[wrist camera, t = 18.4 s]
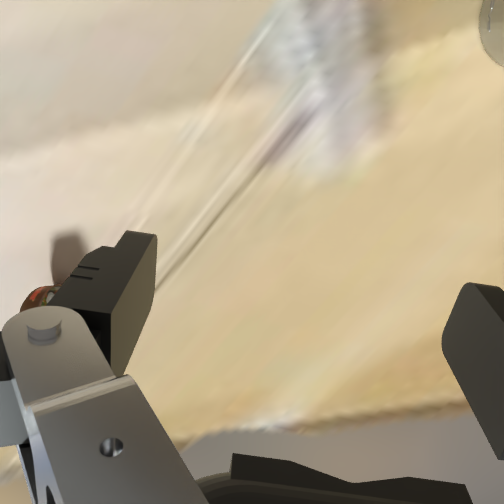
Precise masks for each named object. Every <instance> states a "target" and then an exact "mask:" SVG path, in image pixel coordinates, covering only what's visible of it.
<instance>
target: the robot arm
mask: <svg viewBox="0 0 504 504" xmlns="http://www.w3.org/2000/svg"><path fill="white" fill-rule="evenodd" d="M479 32H480V38H481V42H482V44H483V46H484V49H485V51H486V52H487V54H488V55H489V56H490V58H491V59H492V60H494V61H495V62H496V63H498V64H499V65H501V66H503V67H504V0H484V1H483V4H482V8H481V12H480V18H479ZM156 258H157V236H156V235H155V234H148V233H142V232H135V231H128V230H127V231H126V232H125V233H124V234H123V236H122V237H121V239H120V240H119V242H118V243H117V245H116V246H115V247H107V246H101V247H100V248H98V249H96V250H94V251H92V252H90V253H88V254H86V256H85V257H84V258H83V259H82V261H81V262H80V263H79V264H78V267H77V268H75V270H74V271H73V272H72V273H71V275H70V277H68V278H67V280H66V281H65V282H64V283H63V285H62V286H61V287H60V288H59V290H58V291H57V292H56V293H55V295H54V296H53V297H52V298H51V300H50V301H49V302H48V303H47V305H46V306H41V307H35V308H31V309H28V310H25V311H22V312H20V313H18V314H16V315H15V316H13V317H12V318H11V319H9V320H8V321H7V322H6V324H5V325H4V327H3V329H2V331H0V447H5V446H12V445H16V447H17V450H18V454H19V458H20V461H21V465H22V468H23V472H24V475H25V479H26V483H27V486H28V490H29V493H30V497H31V500H32V504H473V503H472V500H471V498H470V495H469V493H468V491H467V488H466V486H465V484H458V483H450V482H443V481H435V480H428V479H421V478H413V477H403V478H395V479H387V480H379V481H370V482H362V483H351V482H347V481H344V480H341V479H338V478H336V477H333V476H330V475H328V474H324V473H322V472H319V471H316V470H314V469H311V468H308V467H306V466H303V465H300V464H297V463H295V462H292V461H287V460H280V459H272V458H265V457H257V456H250V455H242V454H235V453H233V454H232V460H231V465H230V471H229V472H227V473H219V474H215V475H211V476H206V477H203V478H200V479H198V480H194V478H193V476H192V475H191V473H190V471H189V470H188V468H187V466H186V465H185V463H184V461H183V460H182V458H181V456H180V455H179V453H178V451H177V450H176V448H175V446H174V445H173V443H172V441H171V440H170V438H169V436H168V435H167V433H166V431H165V430H164V428H163V426H162V425H161V423H160V421H159V420H158V418H157V416H156V415H155V413H154V411H153V410H152V408H151V406H150V405H149V403H148V402H147V400H146V398H145V397H144V395H143V393H142V392H141V390H140V388H139V387H138V385H137V383H136V382H135V380H134V379H133V378H132V377H131V376H130V375H128V374H126V375H123V374H124V372H125V369H126V367H127V365H128V362H129V360H130V357H131V355H132V353H133V350H134V348H135V345H136V343H137V341H138V338H139V336H140V334H141V331H142V329H143V326H144V324H145V322H146V319H147V317H148V315H149V312H150V309H151V306H152V302H153V297H154V290H155V275H156ZM442 351H443V354H444V356H445V358H446V360H447V362H448V364H449V366H450V368H451V370H452V372H453V374H454V375H455V377H456V379H457V381H458V383H459V385H460V387H461V389H462V391H463V393H464V395H465V397H466V399H467V401H468V402H469V404H470V406H471V408H472V410H473V412H474V414H475V416H476V418H477V420H478V422H479V424H480V426H481V427H482V429H483V431H484V433H485V435H486V437H487V439H488V441H489V443H490V445H491V447H492V449H493V451H494V453H495V455H496V456H497V459H498V460H504V291H503V290H502V289H501V288H500V287H497V286H491V285H484V284H477V283H471V282H469V283H466V284H465V285H464V286H463V287H462V289H461V291H460V293H459V295H458V297H457V300H456V302H455V305H454V307H453V309H452V312H451V314H450V316H449V319H448V321H447V324H446V326H445V328H444V331H443V334H442Z"/></svg>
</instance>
